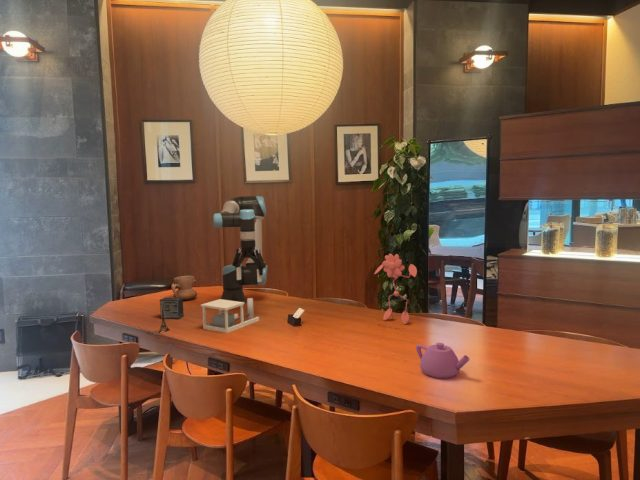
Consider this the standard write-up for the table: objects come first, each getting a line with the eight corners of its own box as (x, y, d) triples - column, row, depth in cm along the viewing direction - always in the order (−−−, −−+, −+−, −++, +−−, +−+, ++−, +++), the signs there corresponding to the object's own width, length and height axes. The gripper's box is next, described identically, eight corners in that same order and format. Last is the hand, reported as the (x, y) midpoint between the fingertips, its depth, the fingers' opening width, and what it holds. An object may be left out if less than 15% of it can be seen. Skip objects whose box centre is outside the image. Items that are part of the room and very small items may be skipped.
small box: (184, 316, 251) (183, 297, 250) (179, 319, 245) (178, 299, 244) (165, 315, 252) (164, 296, 251) (160, 319, 246) (159, 299, 245)
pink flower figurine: (381, 315, 244) (379, 250, 240) (423, 325, 226) (423, 254, 222) (362, 322, 233) (360, 253, 229) (405, 332, 215) (404, 258, 211)
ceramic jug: (188, 295, 303) (187, 274, 302) (203, 297, 295) (202, 275, 293) (165, 301, 288) (163, 279, 287) (180, 304, 280) (179, 280, 279)
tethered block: (247, 316, 244) (246, 297, 243) (257, 317, 241) (257, 298, 240) (212, 328, 222) (211, 308, 221) (223, 330, 218) (222, 309, 217)
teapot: (461, 386, 154) (461, 355, 153) (407, 372, 167) (407, 343, 166) (476, 373, 165) (477, 344, 164) (424, 361, 178) (425, 334, 176)
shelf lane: (235, 319, 243) (234, 294, 242) (260, 322, 235) (259, 297, 234) (201, 331, 222) (200, 304, 221) (227, 335, 214) (226, 308, 213)
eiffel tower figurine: (143, 333, 222) (142, 306, 220) (161, 328, 230) (159, 302, 229) (164, 338, 214) (163, 310, 213) (181, 332, 222) (180, 305, 221)
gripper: (224, 239, 240) (226, 279, 242) (262, 241, 227) (264, 283, 230) (234, 238, 247) (235, 277, 249) (271, 239, 234) (273, 281, 236)
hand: (249, 280), depth 239 cm, fingers open, 13 cm apart
